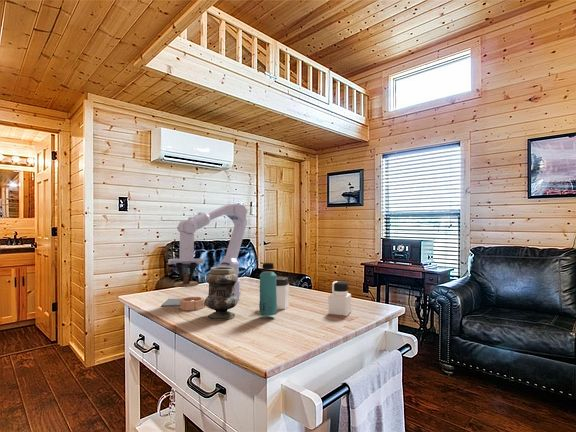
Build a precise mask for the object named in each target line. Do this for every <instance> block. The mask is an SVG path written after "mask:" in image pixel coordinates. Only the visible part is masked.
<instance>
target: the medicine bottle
mask: <svg viewBox="0 0 576 432" xmlns="http://www.w3.org/2000/svg"><path fill="white" fill-rule="evenodd" d="M331 292H332V293H331V294H329V295H328V314H329V315H335V316H342V315H343V317H347V316H348V315H349V314H350V313H352V293H349V283H348V282H347V281H343V280H336V281H335V280H334V281H333V282H332V283H331Z"/></svg>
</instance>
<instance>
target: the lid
mask: <svg viewBox="0 0 576 432" xmlns="http://www.w3.org/2000/svg"><path fill="white" fill-rule="evenodd" d="M189 277H190V273H183V282H181V281H178V282H175V283H174V284H173V285H174V287H176V288H189V287H190V288H191V287H197V286H198V285H199V282H198V281H194V280H192V281H189Z"/></svg>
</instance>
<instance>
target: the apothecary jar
mask: <svg viewBox="0 0 576 432" xmlns="http://www.w3.org/2000/svg"><path fill="white" fill-rule="evenodd" d="M238 279H239V275H238V276H237V275H236V274H235V273H234V268H232V267H218V266H212V267H210V271H209V273H208V274H207V275H206V276H205V282H206V283H207V284H208V295H207V296H206V297H205V298H204V306H206V307H207V308H208V309H210V310H213V311H214V312H211V313H210V314H209V315H208V316H207V318H208V319H209V320H211V321H227V320H230V319H233V318H235V317H236V315H235V313H233V311H229V310H230V309H233V308H235V307H236V306H237V305H238V303H239V300H238V298H237V297H236V296H235V283H236V282H237V281H238Z"/></svg>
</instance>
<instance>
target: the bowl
mask: <svg viewBox="0 0 576 432" xmlns="http://www.w3.org/2000/svg"><path fill="white" fill-rule="evenodd" d="M180 299H181V300H180V306H179V309H180V310H181V311H184V312H185V311H186V312H190V311H191V312H194V311H199V310H202V309H204V307H205V298H204V297H201V296H188V297H183V298H182V297H181V298H180Z"/></svg>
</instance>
